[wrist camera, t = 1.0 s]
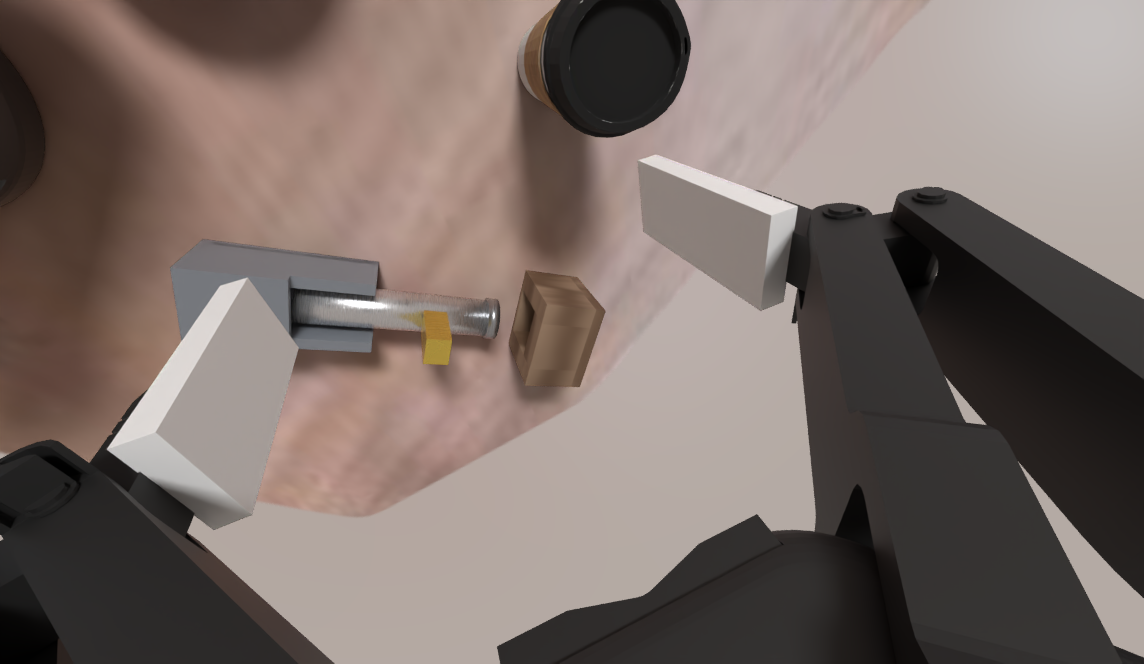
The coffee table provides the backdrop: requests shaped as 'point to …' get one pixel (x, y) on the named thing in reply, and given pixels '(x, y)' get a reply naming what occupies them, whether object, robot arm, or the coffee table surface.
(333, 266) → the sleeve
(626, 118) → the coffee cup
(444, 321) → the tube
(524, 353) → the socket
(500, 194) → the coffee table surface
